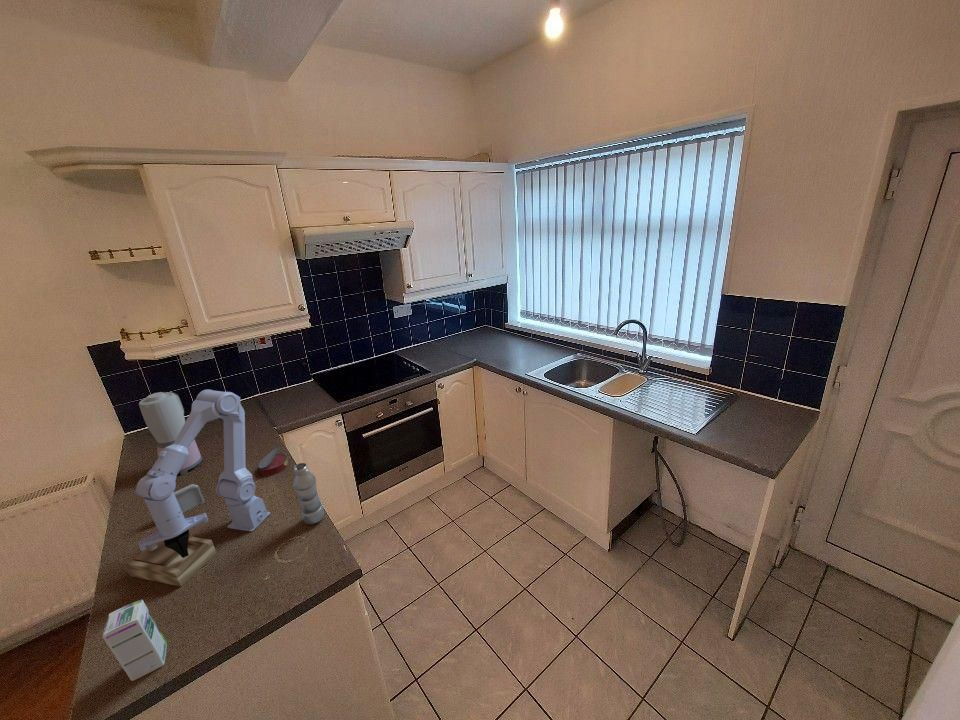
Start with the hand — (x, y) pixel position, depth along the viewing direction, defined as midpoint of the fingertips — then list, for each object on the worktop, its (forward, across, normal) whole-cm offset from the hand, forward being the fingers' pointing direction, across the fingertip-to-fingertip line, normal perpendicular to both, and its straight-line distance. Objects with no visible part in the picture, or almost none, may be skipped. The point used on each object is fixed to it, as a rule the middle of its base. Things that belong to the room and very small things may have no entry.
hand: (185, 554), depth 106 cm
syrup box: (+5, +9, +24) cm, 27 cm away
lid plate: (+2, +5, -7) cm, 9 cm away
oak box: (+5, +4, -5) cm, 8 cm away
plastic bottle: (+5, -32, +6) cm, 33 cm away
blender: (+5, -4, -63) cm, 64 cm away
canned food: (+5, -30, -34) cm, 45 cm away
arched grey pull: (+5, 0, -30) cm, 30 cm away
